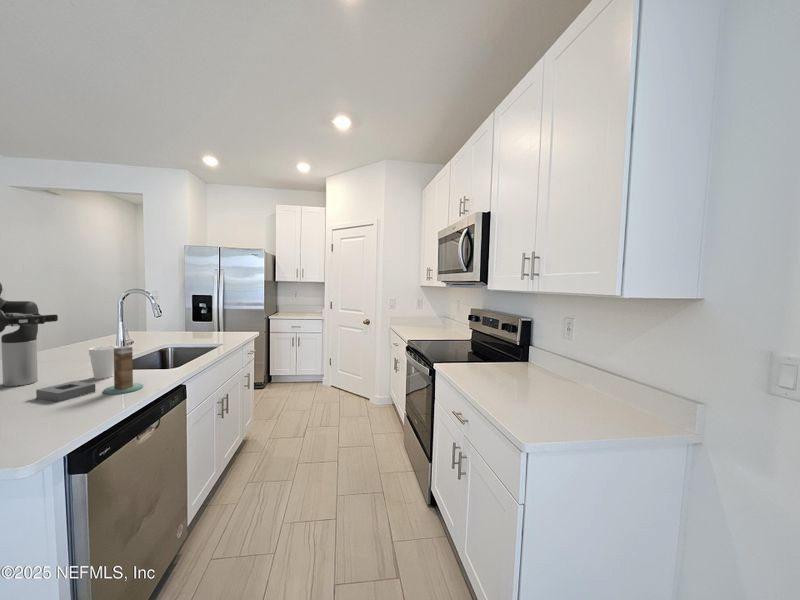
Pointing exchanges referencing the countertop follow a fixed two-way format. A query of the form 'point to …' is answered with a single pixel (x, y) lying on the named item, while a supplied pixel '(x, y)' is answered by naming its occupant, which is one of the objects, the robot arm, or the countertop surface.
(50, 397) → the socket block
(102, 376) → the foam cup
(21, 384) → the robot arm
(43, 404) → the countertop surface
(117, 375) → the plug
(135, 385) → the mat
